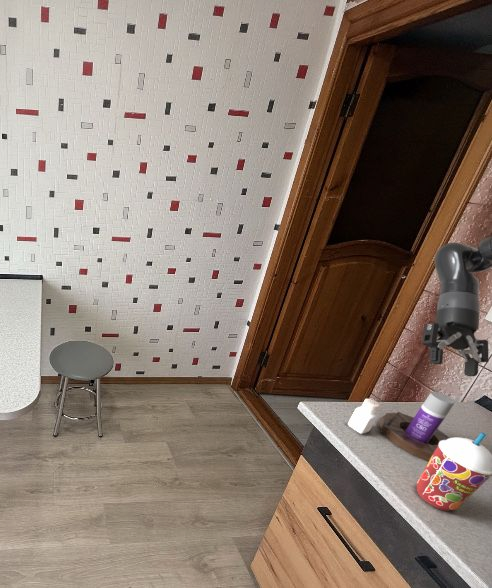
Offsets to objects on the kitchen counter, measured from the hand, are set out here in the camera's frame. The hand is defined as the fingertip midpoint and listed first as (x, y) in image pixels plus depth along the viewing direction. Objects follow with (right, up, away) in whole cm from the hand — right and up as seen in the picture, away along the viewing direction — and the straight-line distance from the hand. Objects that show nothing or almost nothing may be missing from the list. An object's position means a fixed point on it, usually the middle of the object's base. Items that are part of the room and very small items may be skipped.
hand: (453, 369), depth 85 cm
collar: (-3, -21, +7) cm, 22 cm away
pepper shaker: (-17, -19, +9) cm, 27 cm away
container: (-3, -21, +7) cm, 23 cm away
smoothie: (-15, -27, -9) cm, 33 cm away
